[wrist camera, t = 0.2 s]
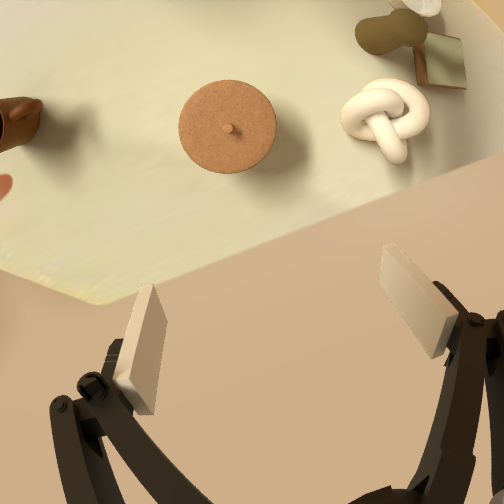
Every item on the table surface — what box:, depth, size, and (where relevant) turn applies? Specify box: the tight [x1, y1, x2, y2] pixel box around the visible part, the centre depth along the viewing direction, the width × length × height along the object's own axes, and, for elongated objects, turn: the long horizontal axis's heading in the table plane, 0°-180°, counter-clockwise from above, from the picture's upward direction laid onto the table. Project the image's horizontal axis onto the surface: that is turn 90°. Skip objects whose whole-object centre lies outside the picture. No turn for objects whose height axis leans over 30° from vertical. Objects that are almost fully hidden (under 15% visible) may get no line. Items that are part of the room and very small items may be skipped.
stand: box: [413, 32, 467, 90], centre depth 33 cm, size 9×9×3 cm
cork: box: [355, 8, 428, 55], centre depth 28 cm, size 6×6×11 cm
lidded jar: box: [178, 80, 276, 174], centre depth 33 cm, size 11×11×9 cm
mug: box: [0, 97, 43, 153], centre depth 28 cm, size 12×8×9 cm, turn 98°
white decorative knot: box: [340, 78, 430, 164], centre depth 34 cm, size 11×12×9 cm
